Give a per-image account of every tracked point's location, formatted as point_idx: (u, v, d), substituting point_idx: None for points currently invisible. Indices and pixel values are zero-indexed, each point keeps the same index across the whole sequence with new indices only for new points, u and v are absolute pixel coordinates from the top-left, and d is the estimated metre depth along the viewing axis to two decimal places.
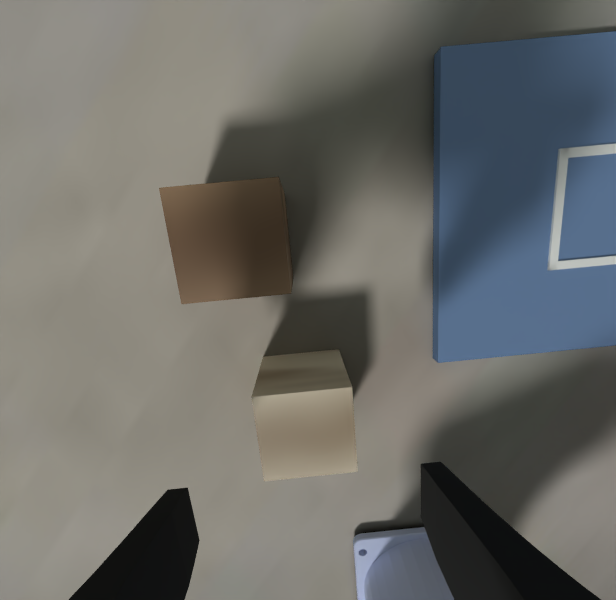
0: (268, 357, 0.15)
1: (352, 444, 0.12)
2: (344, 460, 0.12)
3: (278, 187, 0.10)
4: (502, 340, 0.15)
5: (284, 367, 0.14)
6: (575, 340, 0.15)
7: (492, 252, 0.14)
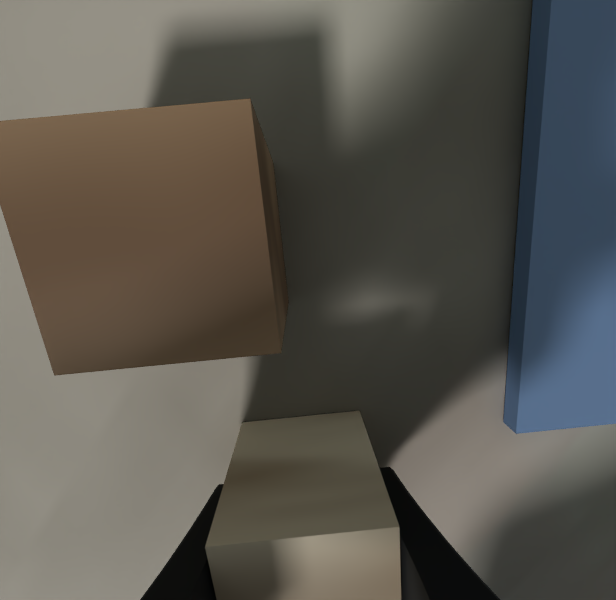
0: (249, 426, 0.10)
1: None
2: None
3: (250, 123, 0.04)
4: None
5: (273, 454, 0.08)
6: None
7: None
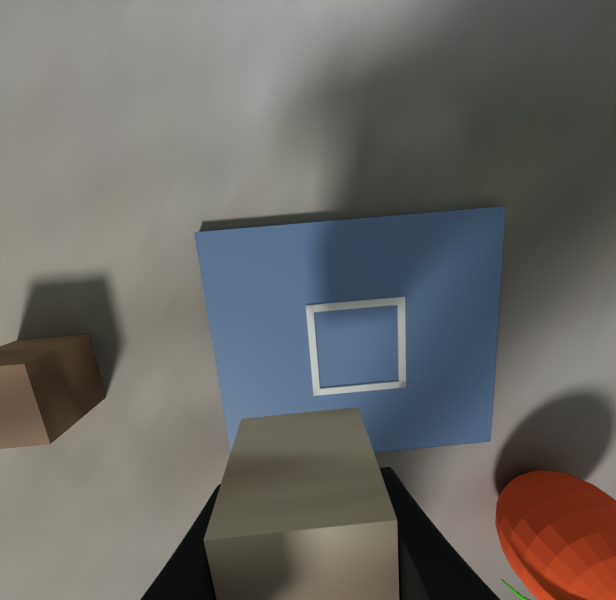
0: (248, 422, 0.10)
1: None
2: None
3: (25, 371, 0.12)
4: None
5: (272, 450, 0.08)
6: None
7: (264, 381, 0.17)
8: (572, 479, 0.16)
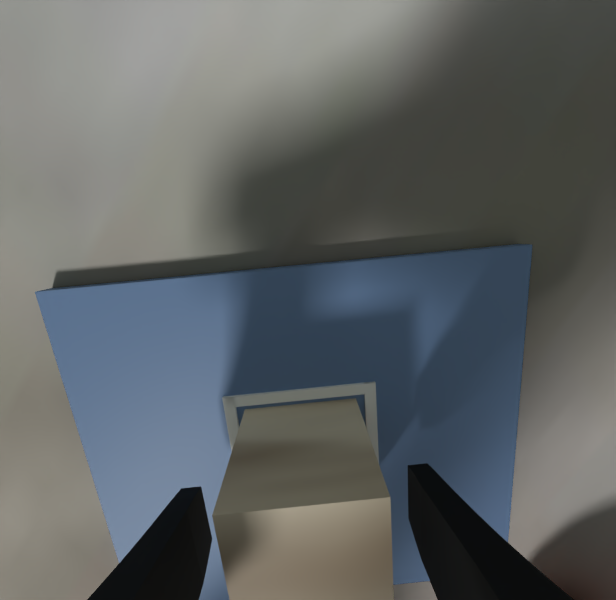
0: (251, 412, 0.10)
1: (387, 585, 0.07)
2: None
3: None
4: (208, 588, 0.12)
5: (274, 437, 0.09)
6: None
7: (169, 502, 0.11)
8: None
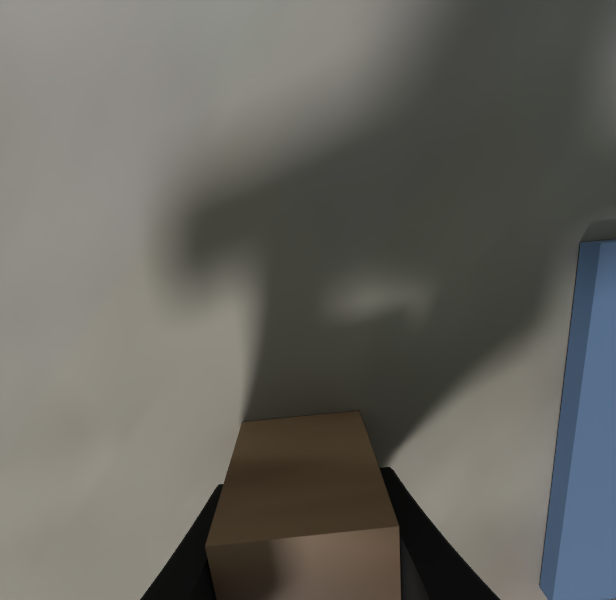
0: None
1: None
2: None
3: (397, 540, 0.06)
4: None
5: None
6: None
7: None
8: None
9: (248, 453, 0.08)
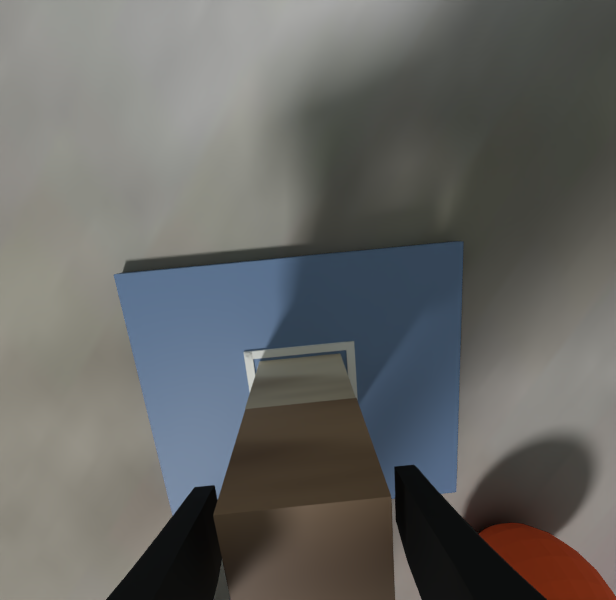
0: (264, 362, 0.14)
1: None
2: None
3: (390, 509, 0.07)
4: None
5: (281, 374, 0.13)
6: None
7: (203, 433, 0.15)
8: (543, 539, 0.15)
9: (251, 436, 0.09)
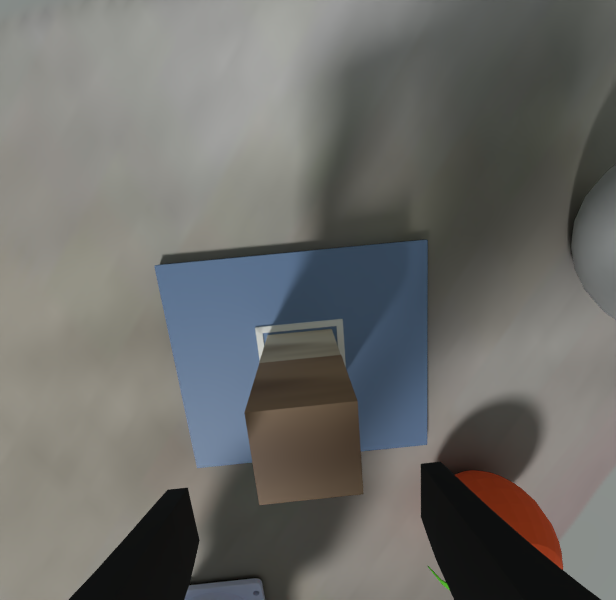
0: (271, 336, 0.18)
1: None
2: None
3: (357, 410, 0.10)
4: (243, 452, 0.20)
5: (285, 342, 0.16)
6: None
7: (222, 393, 0.19)
8: (494, 478, 0.18)
9: (265, 376, 0.13)
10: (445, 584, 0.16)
